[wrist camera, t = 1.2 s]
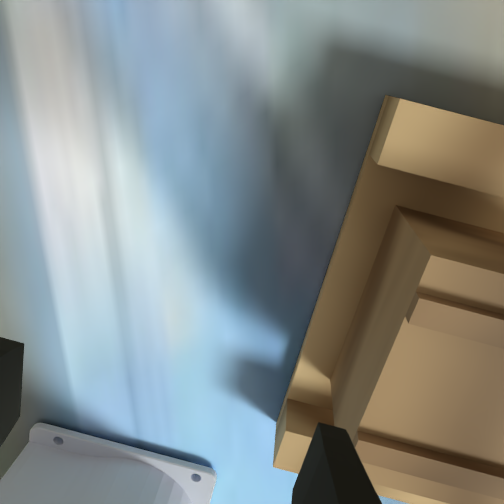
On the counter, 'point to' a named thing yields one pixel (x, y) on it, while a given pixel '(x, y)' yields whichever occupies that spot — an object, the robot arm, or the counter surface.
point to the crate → (428, 362)
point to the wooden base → (370, 237)
